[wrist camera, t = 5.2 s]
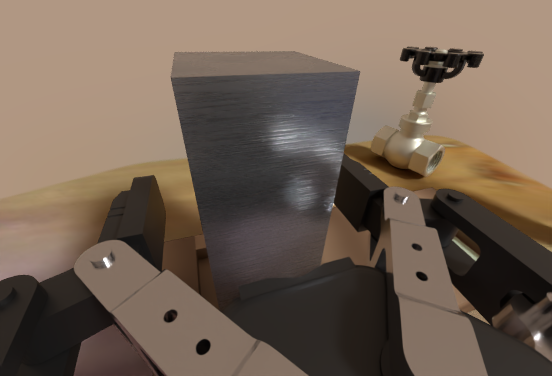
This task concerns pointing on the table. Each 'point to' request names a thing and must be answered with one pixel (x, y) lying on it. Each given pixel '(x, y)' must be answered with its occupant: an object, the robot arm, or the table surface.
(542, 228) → the table surface
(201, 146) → the metal block
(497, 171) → the table surface
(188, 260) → the tray
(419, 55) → the valve
